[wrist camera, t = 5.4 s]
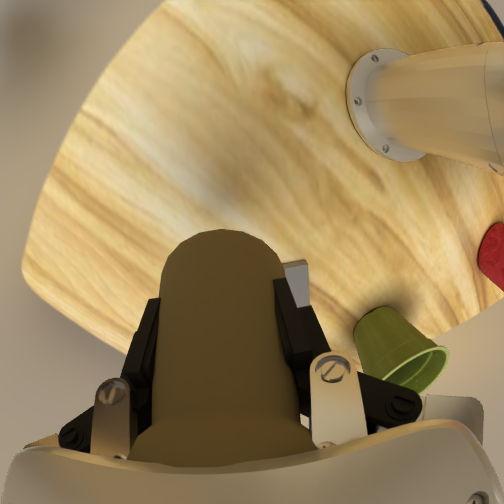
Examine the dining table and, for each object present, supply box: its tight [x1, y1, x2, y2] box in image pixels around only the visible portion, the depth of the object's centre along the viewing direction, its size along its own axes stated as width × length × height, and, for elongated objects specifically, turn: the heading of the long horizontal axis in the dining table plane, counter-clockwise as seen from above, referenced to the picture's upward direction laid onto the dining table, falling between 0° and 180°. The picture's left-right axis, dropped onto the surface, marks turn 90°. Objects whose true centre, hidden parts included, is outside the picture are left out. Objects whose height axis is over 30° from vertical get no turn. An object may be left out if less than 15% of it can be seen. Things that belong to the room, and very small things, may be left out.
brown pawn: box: [126, 229, 318, 467], centre depth 8 cm, size 6×6×11 cm
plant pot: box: [353, 307, 449, 395], centre depth 30 cm, size 12×12×11 cm
